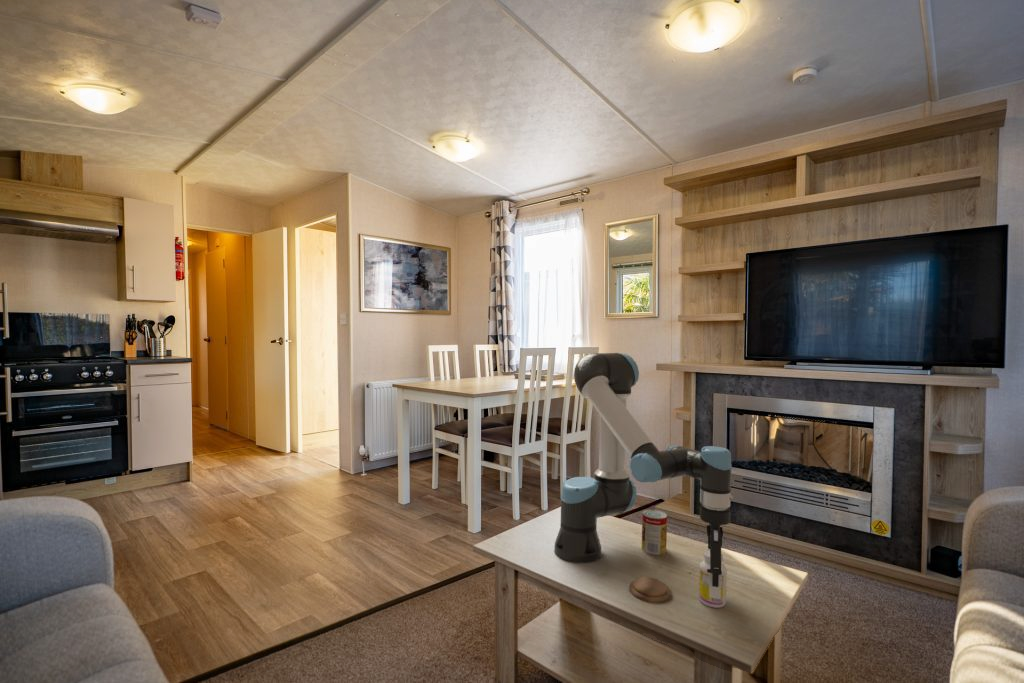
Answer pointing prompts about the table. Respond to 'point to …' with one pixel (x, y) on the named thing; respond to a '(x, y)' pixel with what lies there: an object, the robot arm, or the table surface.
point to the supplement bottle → (705, 583)
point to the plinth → (650, 590)
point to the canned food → (654, 532)
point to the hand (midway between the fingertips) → (713, 585)
